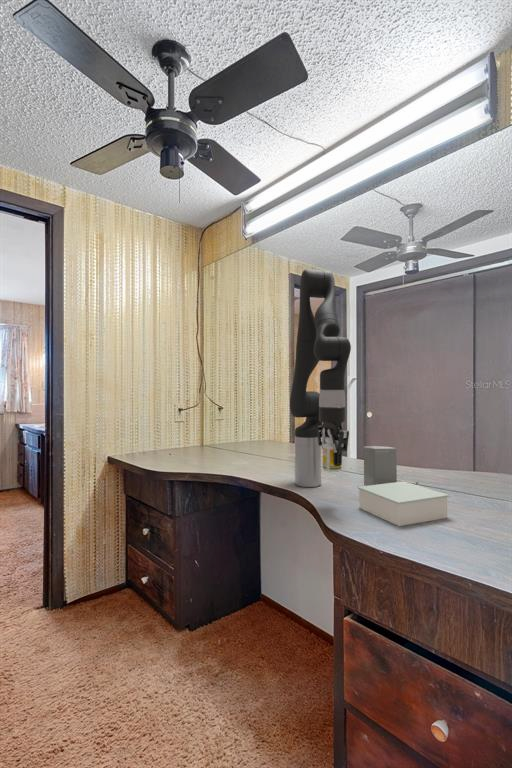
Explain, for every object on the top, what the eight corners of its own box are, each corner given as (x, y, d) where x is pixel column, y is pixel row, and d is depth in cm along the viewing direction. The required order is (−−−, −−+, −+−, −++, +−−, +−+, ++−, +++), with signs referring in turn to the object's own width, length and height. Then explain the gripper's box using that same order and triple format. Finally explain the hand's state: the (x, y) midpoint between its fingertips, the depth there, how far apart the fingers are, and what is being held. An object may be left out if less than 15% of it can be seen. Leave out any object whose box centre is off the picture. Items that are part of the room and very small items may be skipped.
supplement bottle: (319, 470, 114) (319, 437, 113) (327, 467, 118) (327, 435, 118) (336, 473, 110) (336, 439, 110) (344, 469, 115) (344, 436, 115)
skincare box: (374, 501, 119) (374, 448, 119) (362, 495, 126) (361, 445, 126) (399, 498, 121) (398, 447, 121) (385, 492, 128) (384, 444, 128)
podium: (358, 507, 112) (357, 486, 112) (403, 501, 118) (403, 481, 118) (398, 526, 97) (398, 502, 97) (449, 518, 103) (448, 495, 103)
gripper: (308, 404, 119) (308, 459, 119) (334, 407, 106) (334, 469, 106) (330, 403, 122) (330, 458, 122) (357, 406, 109) (357, 467, 109)
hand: (332, 463), depth 114 cm, fingers closed on supplement bottle, 5 cm apart
